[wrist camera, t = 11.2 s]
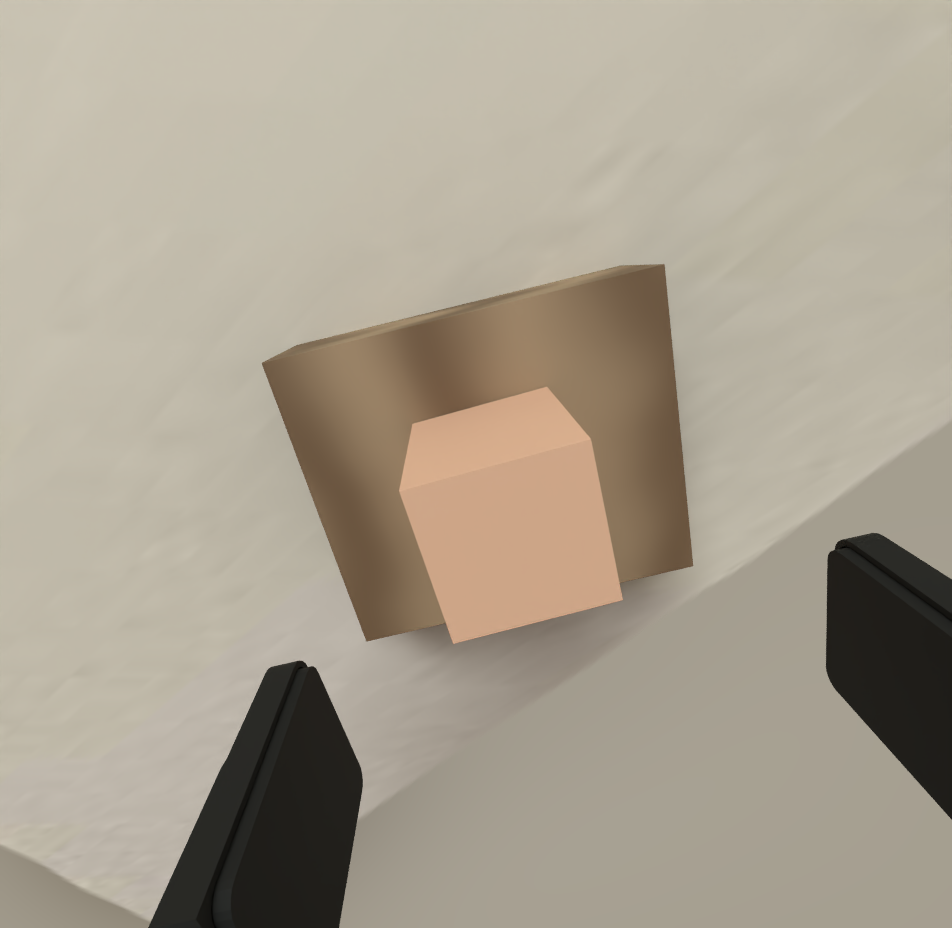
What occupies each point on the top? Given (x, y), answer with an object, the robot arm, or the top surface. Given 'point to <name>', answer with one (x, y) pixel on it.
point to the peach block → (509, 514)
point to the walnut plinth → (479, 382)
